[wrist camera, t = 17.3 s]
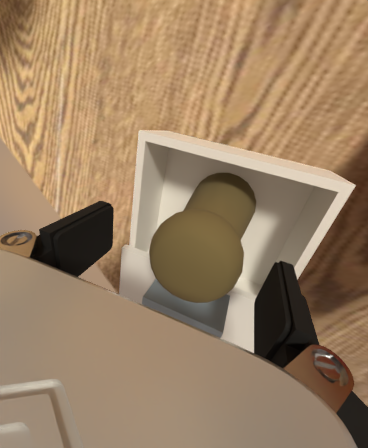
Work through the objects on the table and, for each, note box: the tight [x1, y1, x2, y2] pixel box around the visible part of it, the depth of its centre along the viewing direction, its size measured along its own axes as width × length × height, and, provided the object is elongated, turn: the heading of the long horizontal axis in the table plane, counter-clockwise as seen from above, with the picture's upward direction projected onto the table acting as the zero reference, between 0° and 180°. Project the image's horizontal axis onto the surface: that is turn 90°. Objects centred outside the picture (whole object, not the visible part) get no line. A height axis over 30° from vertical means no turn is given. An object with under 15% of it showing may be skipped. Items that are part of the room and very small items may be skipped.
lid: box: [119, 244, 257, 353], centre depth 19 cm, size 14×13×4 cm
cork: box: [149, 173, 256, 303], centre depth 15 cm, size 6×6×11 cm
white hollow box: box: [129, 130, 356, 296], centre depth 18 cm, size 14×13×5 cm
